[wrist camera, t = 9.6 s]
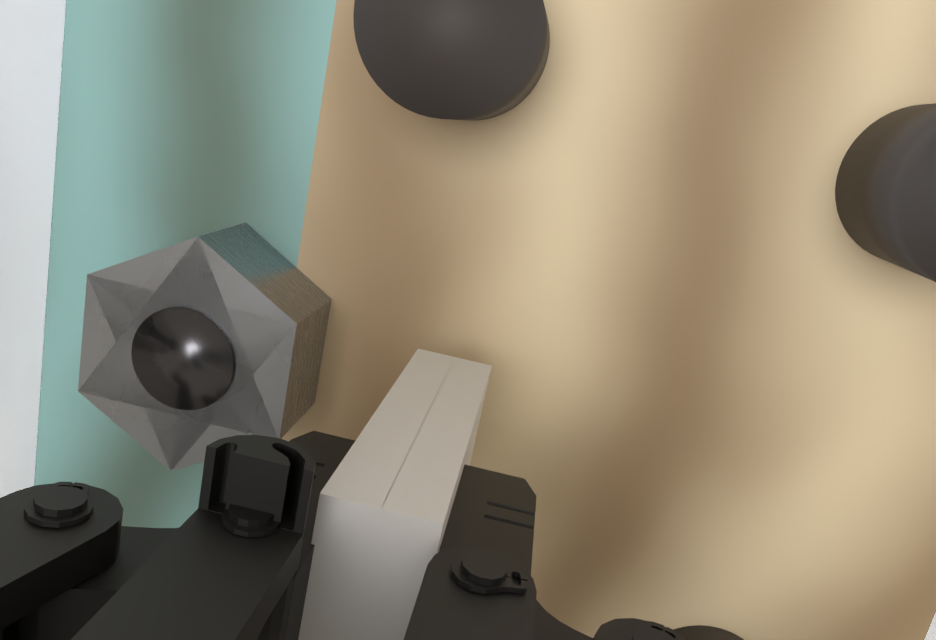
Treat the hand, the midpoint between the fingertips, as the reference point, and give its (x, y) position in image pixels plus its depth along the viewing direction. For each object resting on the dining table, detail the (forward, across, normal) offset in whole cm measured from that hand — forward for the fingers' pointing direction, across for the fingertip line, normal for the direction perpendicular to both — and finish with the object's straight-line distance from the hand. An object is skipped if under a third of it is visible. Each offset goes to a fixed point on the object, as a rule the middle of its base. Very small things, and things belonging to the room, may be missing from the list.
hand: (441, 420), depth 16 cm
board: (+4, +1, -2) cm, 4 cm away
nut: (+3, -6, 0) cm, 6 cm away
